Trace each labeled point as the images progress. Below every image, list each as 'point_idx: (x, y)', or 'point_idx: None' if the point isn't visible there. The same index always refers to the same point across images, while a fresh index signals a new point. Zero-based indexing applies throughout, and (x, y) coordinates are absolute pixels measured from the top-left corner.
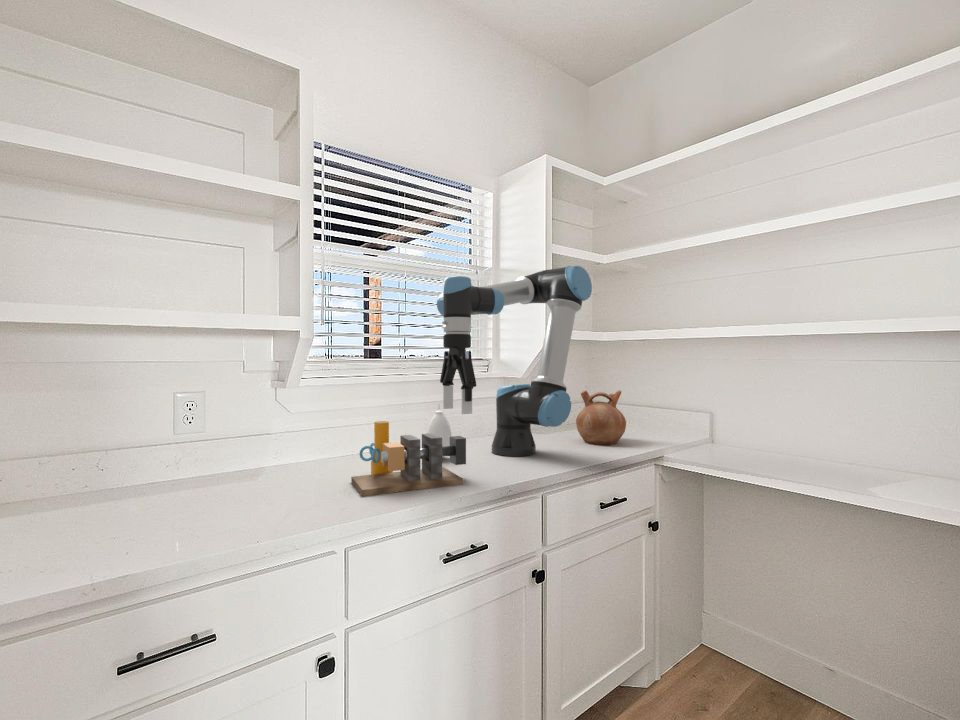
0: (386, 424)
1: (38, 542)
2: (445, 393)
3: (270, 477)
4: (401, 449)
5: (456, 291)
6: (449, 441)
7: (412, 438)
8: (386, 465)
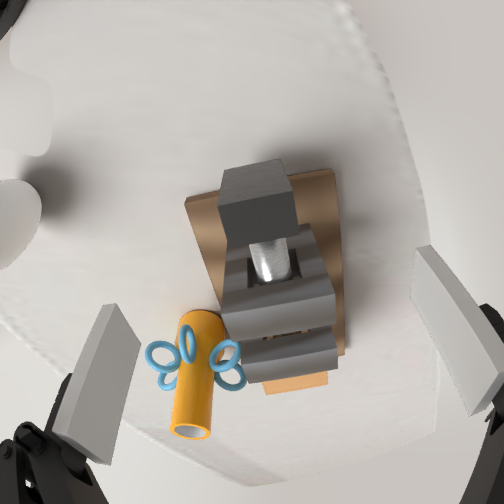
0: (203, 423)
1: (352, 460)
2: (115, 416)
3: None
4: None
5: None
6: (10, 192)
7: (312, 363)
8: None
